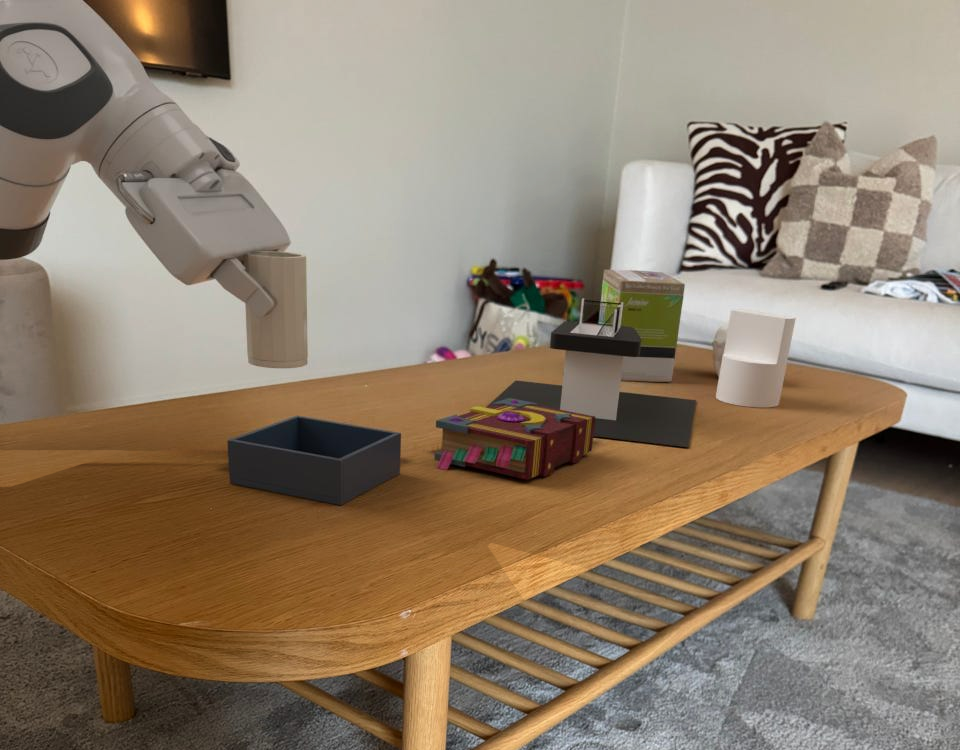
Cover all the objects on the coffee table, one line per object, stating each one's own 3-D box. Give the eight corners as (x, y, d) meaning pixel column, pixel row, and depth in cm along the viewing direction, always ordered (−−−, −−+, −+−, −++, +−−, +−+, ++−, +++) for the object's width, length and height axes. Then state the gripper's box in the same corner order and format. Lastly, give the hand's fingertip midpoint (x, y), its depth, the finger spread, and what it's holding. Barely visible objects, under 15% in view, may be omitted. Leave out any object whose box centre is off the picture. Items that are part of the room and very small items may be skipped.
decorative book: (594, 455, 106) (599, 410, 104) (523, 488, 93) (527, 437, 91) (505, 436, 111) (508, 393, 109) (427, 465, 98) (429, 416, 96)
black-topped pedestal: (688, 448, 111) (707, 329, 105) (469, 422, 116) (476, 307, 110) (695, 401, 136) (711, 302, 130) (515, 381, 141) (522, 285, 135)
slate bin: (340, 505, 85) (340, 460, 83) (229, 483, 89) (226, 439, 87) (400, 473, 95) (401, 432, 93) (297, 454, 99) (296, 415, 97)
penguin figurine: (729, 316, 155) (800, 334, 149) (715, 369, 159) (784, 388, 154) (714, 319, 150) (787, 338, 145) (700, 373, 154) (771, 393, 149)
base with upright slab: (790, 402, 139) (807, 316, 134) (759, 410, 133) (776, 320, 128) (735, 391, 145) (750, 307, 139) (703, 397, 139) (718, 311, 133)
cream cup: (248, 367, 82) (243, 255, 78) (247, 356, 87) (242, 249, 83) (309, 369, 83) (308, 258, 79) (305, 357, 88) (303, 252, 84)
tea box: (592, 362, 159) (602, 267, 153) (651, 365, 160) (664, 271, 154) (608, 380, 146) (620, 277, 139) (673, 383, 147) (688, 281, 140)
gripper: (130, 140, 69) (265, 294, 72) (235, 148, 87) (340, 271, 91) (79, 203, 72) (212, 349, 75) (192, 198, 90) (295, 316, 93)
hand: (283, 306), depth 83 cm, fingers closed on cream cup, 5 cm apart
